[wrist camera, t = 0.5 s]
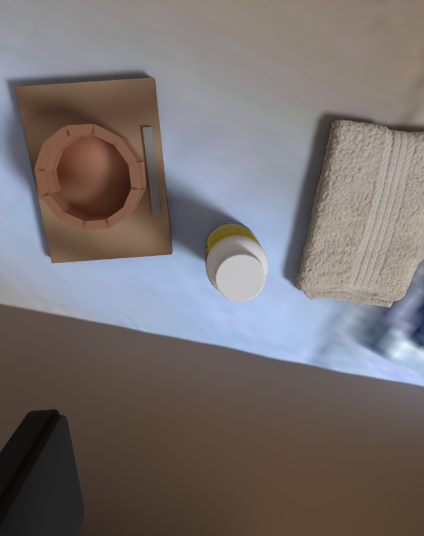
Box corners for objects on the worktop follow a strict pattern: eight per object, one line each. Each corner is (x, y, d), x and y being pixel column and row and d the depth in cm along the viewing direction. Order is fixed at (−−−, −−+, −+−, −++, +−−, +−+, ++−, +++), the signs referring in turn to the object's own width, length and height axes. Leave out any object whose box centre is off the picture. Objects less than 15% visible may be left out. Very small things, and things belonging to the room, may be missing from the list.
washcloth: (289, 291, 40) (297, 302, 37) (326, 117, 35) (338, 113, 32) (392, 302, 41) (407, 314, 38) (443, 134, 36) (465, 133, 33)
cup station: (20, 88, 32) (-8, 78, 28) (154, 80, 33) (148, 68, 28) (56, 259, 37) (36, 274, 33) (172, 251, 38) (169, 264, 33)
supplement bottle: (195, 233, 37) (195, 260, 28) (245, 212, 37) (261, 233, 27) (216, 279, 39) (222, 319, 29) (263, 260, 38) (284, 294, 29)
